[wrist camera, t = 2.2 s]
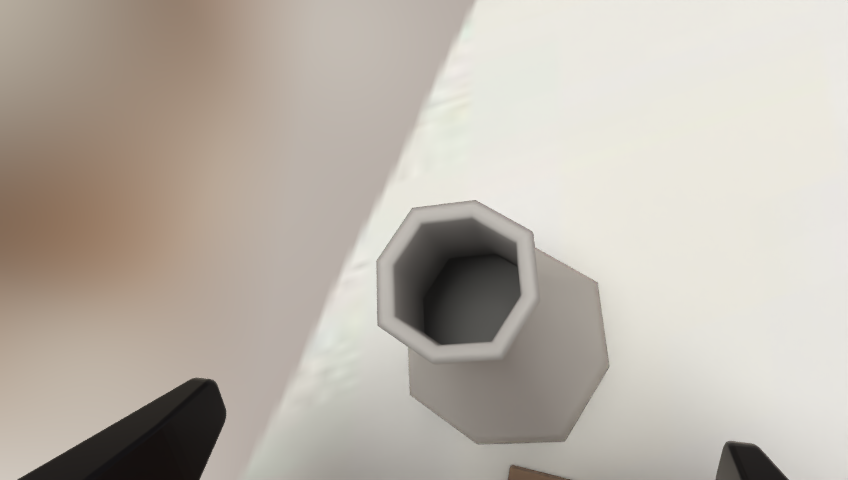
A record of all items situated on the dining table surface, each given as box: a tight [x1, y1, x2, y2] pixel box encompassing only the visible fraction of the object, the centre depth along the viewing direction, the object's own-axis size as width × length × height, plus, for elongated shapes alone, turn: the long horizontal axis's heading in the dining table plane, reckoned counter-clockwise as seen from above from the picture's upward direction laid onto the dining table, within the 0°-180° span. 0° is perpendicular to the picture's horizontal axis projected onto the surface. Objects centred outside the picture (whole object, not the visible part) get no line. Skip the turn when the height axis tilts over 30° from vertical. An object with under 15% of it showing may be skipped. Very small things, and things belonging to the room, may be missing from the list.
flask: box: [376, 200, 609, 444], centre depth 15 cm, size 7×7×10 cm
